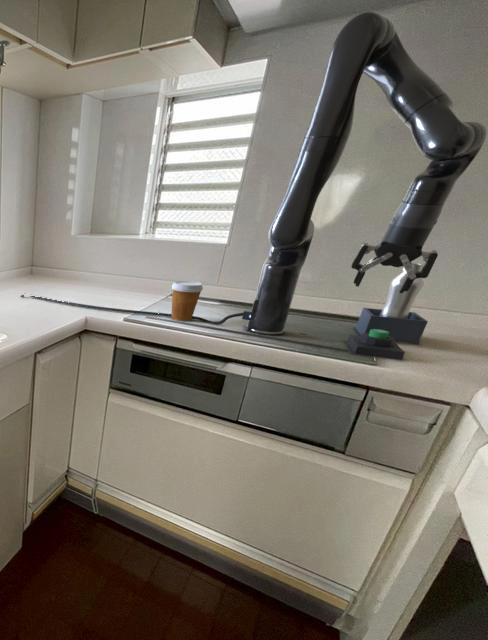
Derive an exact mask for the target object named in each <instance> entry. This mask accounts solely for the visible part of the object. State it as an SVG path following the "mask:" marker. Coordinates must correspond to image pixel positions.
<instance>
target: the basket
mask: <svg viewBox="0 0 488 640" xmlns="http://www.w3.org/2000/svg"><path fill="white" fill-rule="evenodd" d="M382 310H383V308H370V307H362V310H361V313H360V315H359V318H358V320H357V324H356V325H355V326H356V327H355V330H356V331H357V333H359V335H361V333H370V330H371V329H379V330H384V331H388V332H389V334H388V336H391V337H394V338H395V341H394V342H395V343H396V342H397V343H405V344H413V345H414V344H415V345H419V344H420V341H421V338H422V337H423V334H424V332H425V329H426V328H427V324H428V322H429V321H428V320H427V319H425V318H424V317H422V316H421V315H419V314H418V313H416V312H415V311H414V312H412V311H409V314H408V318H407V319H404V318H394V317H384V316H379V315H380V313H381V311H382Z"/></svg>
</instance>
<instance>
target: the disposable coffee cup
mask: <svg viewBox="0 0 488 640" xmlns="http://www.w3.org/2000/svg"><path fill="white" fill-rule="evenodd" d="M171 289H172V291H171V292H172V295H171V313H170V314H171V317H170V318H171V319H173V320H175V321H183V322H189V321H191V320H193V319H192V316H194V313H195V310H196V307H197V303H198V301H199V298H200V295H201V292H202V291H203V290H204V287H203V283H201V282H198V281H192V280H191V281H190V280H176V281H174V282H173V283H172V285H171Z"/></svg>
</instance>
